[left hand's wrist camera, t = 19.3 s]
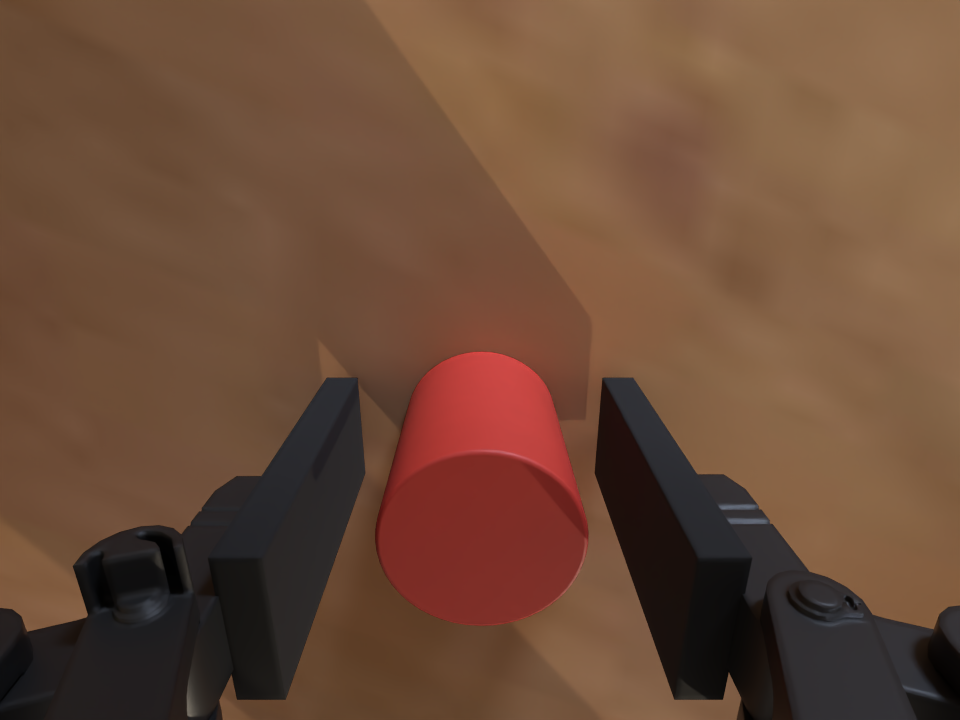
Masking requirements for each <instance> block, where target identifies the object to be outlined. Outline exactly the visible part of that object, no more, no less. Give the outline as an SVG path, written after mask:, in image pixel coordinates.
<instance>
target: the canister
mask: <svg viewBox="0 0 960 720" xmlns="http://www.w3.org/2000/svg"><path fill="white" fill-rule="evenodd" d="M375 542H376V550H377V554H378V557H379V561H380V564H381V566H382V568H383V570H384V573H385V575H386V576H387V578H388V579H389V581H390V582H391V584H392V585H393V587H394V588H395V589H396V590H397V591H398V592H399V593H400V594H401V595H402V596H403V597H404V598H405V599H406V600H407V601H409V602H410V603H411V604H413V605H414V606H416V607H417V608H419V609H420V610H422V611H424V612H426V613H428V614H430V615H432V616H435V617H437V618H440V619H443V620H446V621H450V622H453V623H459V624H465V625H476V626H486V625H498V624H505V623H510V622H514V621H518V620H521V619H523V618H526V617H529V616H531V615H533V614H535V613H537V612H539V611H541V610H543V609H545V608H546V607H548V606H549V605H551V604H552V603H553V602H555V601H556V600H557V599H558V598H560V597H561V596H562V595H563V594H564V593H565V592H566V591H567V589H568V588H569V587H570V586H571V584H572V583H573V582H574V580H575V579H576V577H577V575H578V573H579V572H580V570H581V568H582V565H583V562H584V559H585V556H586V552H587V547H588V525H587V519H586V516H585V512H584V509H583V505H582V502H581V498H580V495H579V491H578V488H577V484H576V481H575V477H574V474H573V470H572V467H571V463H570V460H569V456H568V453H567V449H566V446H565V442H564V439H563V435H562V432H561V428H560V425H559V421H558V418H557V414H556V411H555V407H554V404H553V401H552V397H551V395H550V393H549V391H548V389H547V387H546V385H545V384H544V382H543V381H542V380H541V379H540V377H539V376H538V375H537V374H536V373H535V372H534V371H533V370H531V369H530V368H529V367H528V366H526V365H525V364H523V363H522V362H520V361H518V360H516V359H514V358H511V357H508V356H505V355H502V354H498V353H492V352H471V353H465V354H461V355H457V356H454V357H451V358H449V359H447V360H445V361H443V362H441V363H440V364H438V365H436V366H435V367H434V368H432V369H431V370H430V371H429V372H428V373H427V374H426V375H425V376H424V377H423V378H422V379H421V380H420V382H419V383H418V385H417V386H416V388H415V390H414V392H413V394H412V396H411V399H410V402H409V406H408V409H407V413H406V416H405V420H404V424H403V427H402V431H401V434H400V438H399V442H398V445H397V449H396V453H395V456H394V460H393V463H392V467H391V471H390V474H389V478H388V481H387V485H386V489H385V492H384V496H383V500H382V503H381V507H380V510H379V514H378V518H377V523H376V529H375Z"/></svg>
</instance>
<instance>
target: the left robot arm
mask: <svg viewBox="0 0 960 720" xmlns="http://www.w3.org/2000/svg"><path fill="white" fill-rule="evenodd" d="M364 475H365V463H364V451H363V439H362V427H361V415H360V403H359V391H358V379H357V378H326V380H325V381H324V383H323V384H322V386H321V387H320V389H319V390H318V392H317V393H316V395H315V396H314V398H313V399H312V401H311V402H310V404H309V406H308V407H307V409H306V410H305V412H304V413H303V415H302V416H301V418H300V419H299V421H298V422H297V424H296V425H295V427H294V428H293V430H292V431H291V433H290V434H289V436H288V437H287V439H286V440H285V442H284V443H283V445H282V446H281V448H280V449H279V451H278V452H277V454H276V455H275V457H274V458H273V460H272V461H271V463H270V464H269V466H268V467H267V469H266V470H265V472H264V473H263V475H262V476H236V477H235V478H233V479H232V480H230V481H229V482H227V483H226V484H225V485H223V486H222V487H220V488H219V489H217V490H216V491H215V492H214V493H213V494H212V496H211V497H210V498H209V499H208V501H207V502H206V503H205V505H204V506H203V507H202V511H199V512H198V514H197V515H196V516H195V518H194V519H193V520H192V522H191V526H188V527H187V528H186V529H185V531H184V532H183V533H182V534H180V533H179V532H177V531H176V530H175V529H174V528H170V527H165V526H160V525H156V526H141V527H137V528H133V529H129V530H125V531H122V532H119V533H117V534H114V535H112V536H110V537H108V538H106V539H103V540H101V541H99V542H98V543H97V544H95V545H94V546H92V547H91V548H90V549H88V550H87V551H85V552H84V553H83V554H82V555H81V556H80V558H79V559H78V560H77V561H76V563H75V564H74V565H73V568H74V571H75V574H76V578H77V581H78V584H79V587H80V590H81V594H82V597H83V600H84V603H85V606H86V610H87V613H88V616H87V618H83V619H80V620H77V621H72V622H68V623H64V624H59V625H55V626H51V627H46V628H42V629H37V630H33V631H29V632H27V631H26V628H25V625H24V622H23V620H22V617H21V616H20V615H19V614H18V613H16V612H15V611H14V610H12V609H4V608H0V720H223V719H222V712H221V707H220V702H219V699H220V697H221V695H222V693H223V691H224V689H225V687H226V684H227V682H228V680H229V678H230V676H231V674H232V678H233V682H234V687H235V692H236V697H237V700H286V697H287V694H288V691H289V688H290V686H291V683H292V680H293V677H294V674H295V671H296V669H297V666H298V663H299V660H300V657H301V654H302V651H303V649H304V646H305V643H306V640H307V637H308V634H309V632H310V629H311V626H312V623H313V620H314V617H315V615H316V612H317V609H318V606H319V603H320V600H321V597H322V595H323V592H324V589H325V586H326V583H327V580H328V578H329V575H330V572H331V569H332V566H333V563H334V561H335V558H336V555H337V552H338V549H339V546H340V544H341V541H342V538H343V535H344V532H345V529H346V526H347V524H348V521H349V518H350V515H351V512H352V509H353V507H354V504H355V501H356V498H357V495H358V492H359V490H360V487H361V484H362V481H363V478H364ZM595 475H596V478H597V481H598V484H599V487H600V489H601V492H602V495H603V498H604V501H605V504H606V507H607V509H608V512H609V515H610V518H611V521H612V524H613V526H614V529H615V532H616V535H617V538H618V541H619V543H620V546H621V549H622V552H623V555H624V558H625V561H626V563H627V566H628V569H629V572H630V575H631V578H632V580H633V583H634V586H635V589H636V592H637V595H638V597H639V600H640V603H641V606H642V609H643V612H644V615H645V617H646V620H647V623H648V626H649V629H650V632H651V634H652V637H653V640H654V643H655V646H656V649H657V651H658V654H659V657H660V660H661V663H662V666H663V669H664V671H665V674H666V677H667V680H668V683H669V686H670V688H671V691H672V694H673V697H674V700H723V697H724V692H725V687H726V683H727V678H728V673H730V675H731V677H732V679H733V682H734V684H735V686H736V688H737V690H738V692H739V694H740V696H741V702H740V707H739V711H738V716H737V720H960V606H952V607H948V608H947V609H945V610H944V611H943V612H942V613H940V614H939V617H938V620H937V622H936V625H935V628H934V629H929V628H925V627H920V626H916V625H912V624H907V623H903V622H899V621H894V620H890V619H885V618H882V617H878V616H875V615H872V613H871V612H870V610H869V609H868V607H867V606H866V604H865V603H864V601H863V600H862V599H861V598H859V597H858V596H857V595H856V594H855V593H853V592H852V591H851V590H850V589H848V588H847V587H845V586H844V585H842V584H840V583H838V582H836V581H834V580H832V579H830V578H828V577H825V576H822V575H818V574H815V573H812V572H809V571H808V569H807V568H806V567H805V565H804V564H803V563H802V562H801V560H800V559H799V558H798V556H797V555H796V554H795V553H794V551H793V550H792V549H791V547H790V546H789V545H788V543H787V542H786V541H785V540H784V538H783V537H782V536H781V534H780V533H779V532H778V531H777V529H776V528H775V527H774V525H773V524H770V520H769V519H768V518H767V516H766V515H765V514H764V513H763V511H762V510H759V508H758V507H759V506H758V505H757V504H756V502H755V501H754V500H753V498H752V497H751V496H750V494H749V493H748V492H747V491H746V489H744V488H743V487H741V486H740V485H738V484H737V483H736V482H734V481H733V480H731V479H730V478H728V477H727V476H725V475H724V474H697V473H696V472H695V470H694V469H693V467H692V466H691V464H690V463H689V461H688V460H687V458H686V457H685V455H684V454H683V452H682V451H681V449H680V448H679V446H678V445H677V443H676V442H675V440H674V439H673V437H672V436H671V434H670V433H669V431H668V430H667V428H666V427H665V425H664V424H663V422H662V421H661V419H660V418H659V416H658V415H657V413H656V412H655V410H654V409H653V407H652V405H651V404H650V402H649V401H648V399H647V398H646V396H645V395H644V393H643V392H642V390H641V389H640V387H639V386H638V384H637V383H636V381H635V380H634V378H603V379H602V391H601V403H600V415H599V427H598V439H597V451H596V464H595Z"/></svg>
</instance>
